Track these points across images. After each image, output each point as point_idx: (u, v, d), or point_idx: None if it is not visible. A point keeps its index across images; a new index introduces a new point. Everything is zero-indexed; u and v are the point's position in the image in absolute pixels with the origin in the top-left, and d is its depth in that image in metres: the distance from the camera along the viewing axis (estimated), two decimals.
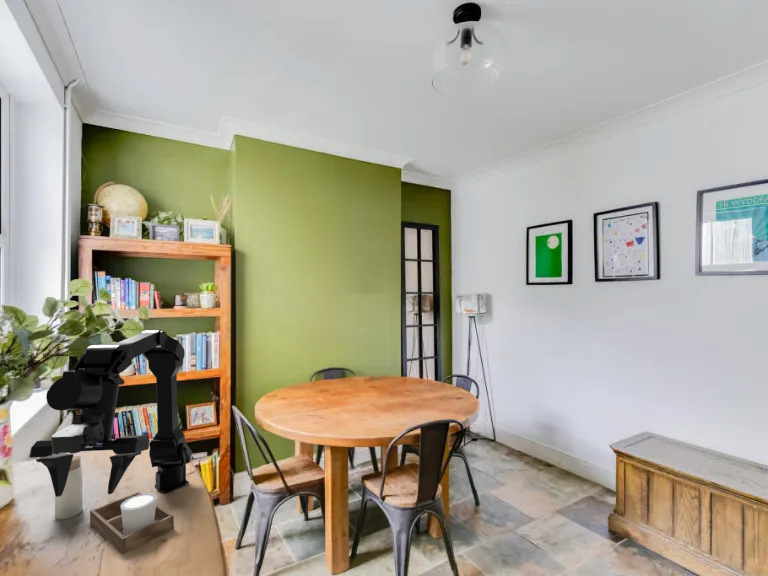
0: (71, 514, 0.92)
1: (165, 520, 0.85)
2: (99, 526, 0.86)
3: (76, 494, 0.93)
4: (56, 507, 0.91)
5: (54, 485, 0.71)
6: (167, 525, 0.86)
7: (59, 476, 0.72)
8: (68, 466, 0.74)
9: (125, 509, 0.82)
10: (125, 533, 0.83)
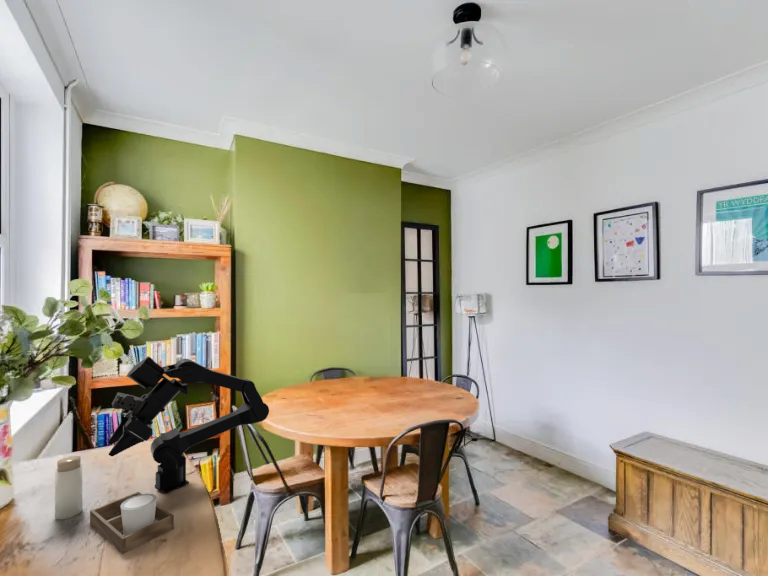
0: (71, 514, 0.92)
1: (165, 520, 0.85)
2: (99, 526, 0.86)
3: (76, 494, 0.93)
4: (56, 507, 0.91)
5: None
6: (167, 525, 0.86)
7: (118, 431, 1.03)
8: None
9: (125, 509, 0.82)
10: (125, 533, 0.83)
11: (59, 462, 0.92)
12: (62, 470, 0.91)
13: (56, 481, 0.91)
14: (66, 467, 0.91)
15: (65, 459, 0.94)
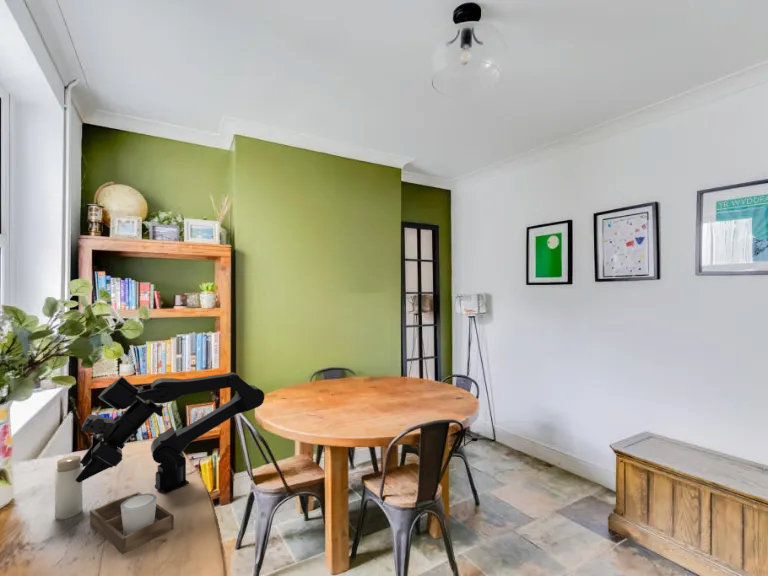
0: (71, 514, 0.92)
1: (165, 520, 0.85)
2: (99, 526, 0.86)
3: (76, 494, 0.93)
4: (56, 507, 0.91)
5: (83, 457, 0.99)
6: (167, 525, 0.86)
7: (89, 454, 1.00)
8: None
9: (125, 509, 0.82)
10: (125, 533, 0.83)
11: (59, 462, 0.92)
12: (62, 470, 0.91)
13: (56, 481, 0.91)
14: (66, 467, 0.91)
15: (65, 459, 0.94)
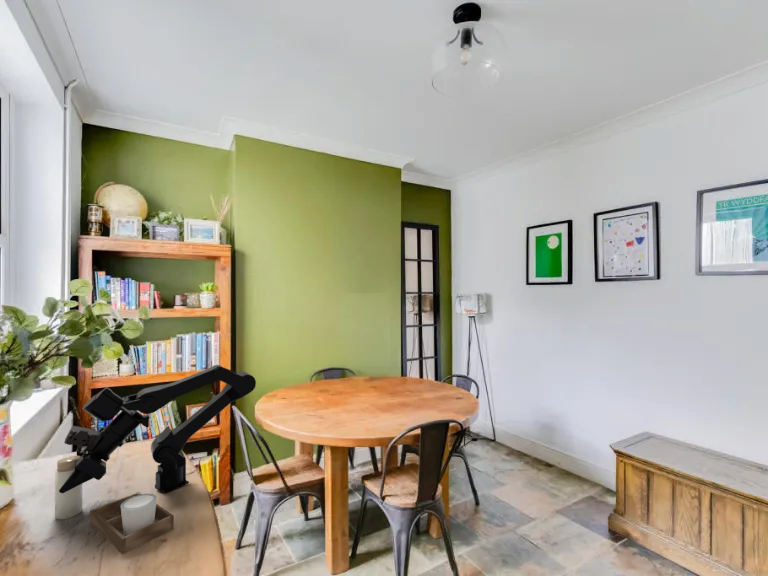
0: (71, 514, 0.92)
1: (165, 520, 0.85)
2: (99, 526, 0.86)
3: (76, 494, 0.92)
4: (56, 507, 0.91)
5: None
6: (167, 525, 0.86)
7: None
8: None
9: (125, 509, 0.82)
10: (125, 533, 0.83)
11: (59, 462, 0.92)
12: (62, 470, 0.91)
13: (56, 481, 0.91)
14: (66, 467, 0.91)
15: (65, 459, 0.94)
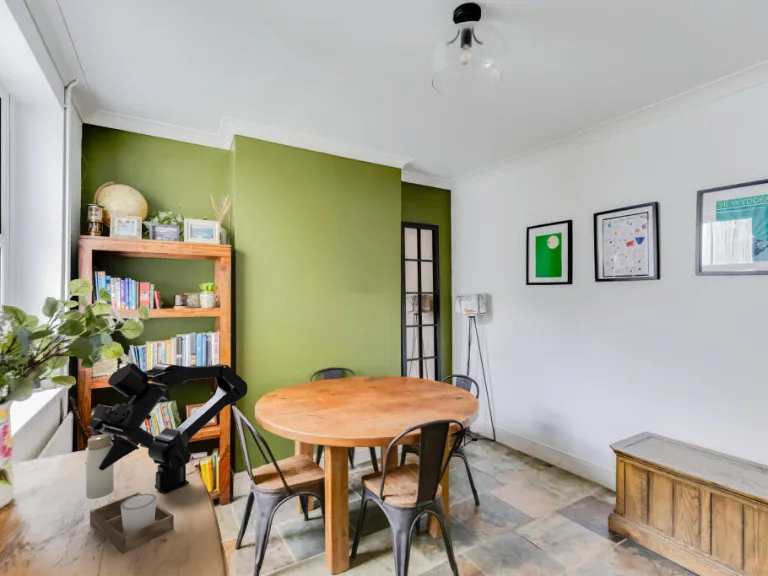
0: (109, 491, 0.90)
1: (165, 520, 0.85)
2: (99, 526, 0.86)
3: (112, 471, 0.91)
4: (92, 487, 0.88)
5: None
6: (167, 525, 0.86)
7: None
8: None
9: (125, 509, 0.82)
10: (125, 533, 0.83)
11: (92, 440, 0.88)
12: (98, 447, 0.88)
13: (92, 460, 0.88)
14: (103, 444, 0.89)
15: (94, 438, 0.90)
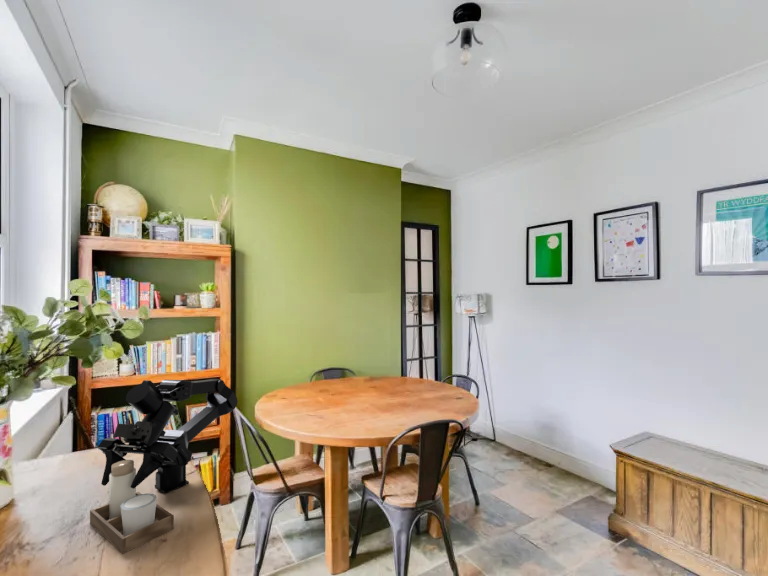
0: None
1: (165, 520, 0.85)
2: (99, 526, 0.86)
3: (135, 495, 0.92)
4: (119, 513, 0.88)
5: (104, 474, 0.91)
6: (167, 525, 0.86)
7: (110, 469, 0.92)
8: None
9: (125, 509, 0.82)
10: (125, 533, 0.83)
11: (118, 467, 0.89)
12: (125, 473, 0.89)
13: (119, 486, 0.88)
14: (129, 469, 0.90)
15: (117, 464, 0.90)
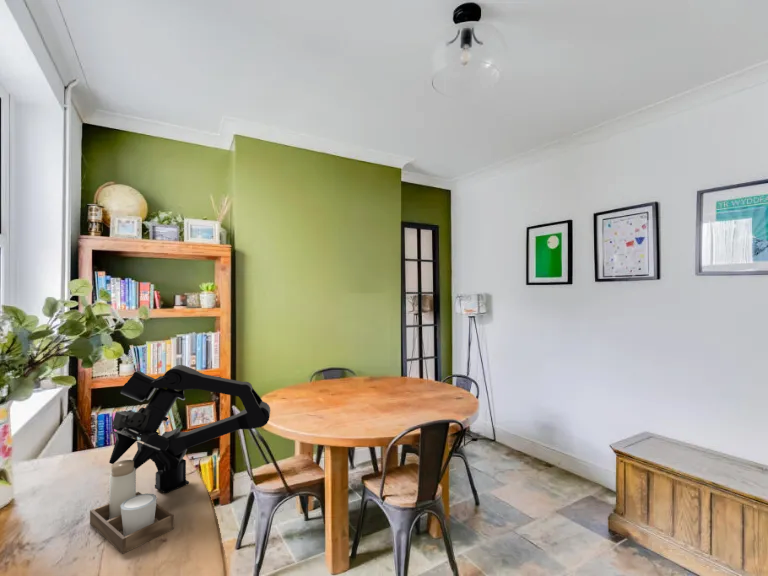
0: None
1: (165, 520, 0.85)
2: (99, 526, 0.86)
3: (135, 495, 0.92)
4: (119, 513, 0.88)
5: (112, 453, 1.00)
6: (167, 525, 0.86)
7: (118, 449, 1.01)
8: (128, 446, 1.03)
9: (125, 509, 0.82)
10: (125, 533, 0.83)
11: (118, 467, 0.89)
12: (125, 473, 0.89)
13: (119, 486, 0.88)
14: (129, 469, 0.90)
15: (117, 464, 0.90)
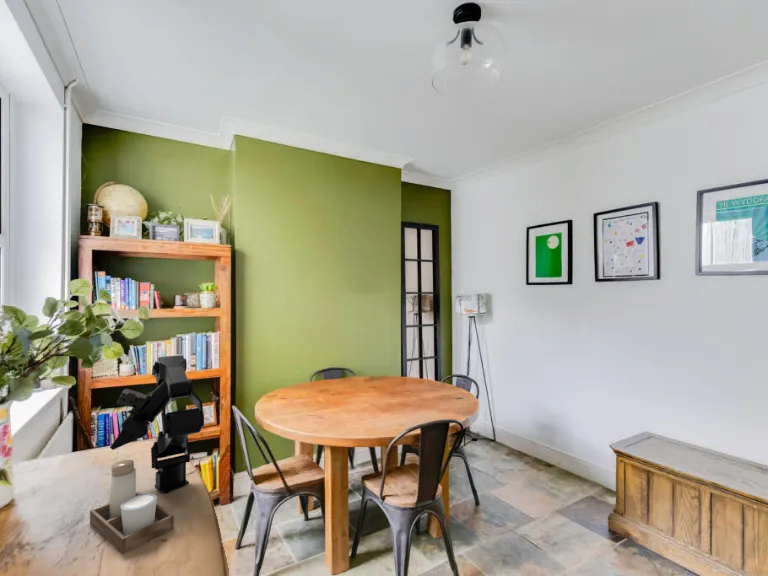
0: None
1: (165, 520, 0.85)
2: (99, 526, 0.86)
3: (135, 495, 0.92)
4: (119, 513, 0.88)
5: None
6: (167, 525, 0.86)
7: None
8: None
9: (125, 509, 0.82)
10: (125, 533, 0.83)
11: (118, 467, 0.89)
12: (125, 473, 0.89)
13: (119, 486, 0.88)
14: (129, 469, 0.90)
15: (117, 464, 0.90)
